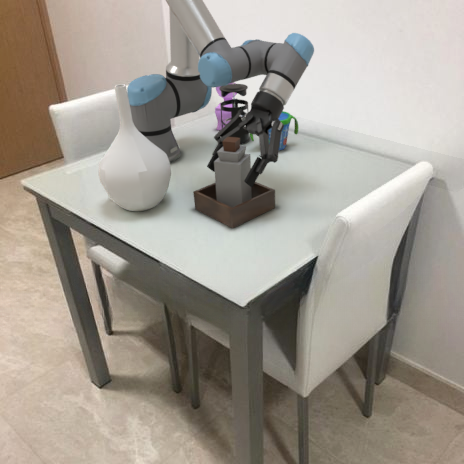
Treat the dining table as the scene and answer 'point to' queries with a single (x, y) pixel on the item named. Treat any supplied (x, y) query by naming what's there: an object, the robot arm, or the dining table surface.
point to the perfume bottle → (232, 173)
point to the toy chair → (224, 113)
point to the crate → (239, 214)
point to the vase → (133, 164)
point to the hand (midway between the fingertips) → (228, 176)
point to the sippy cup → (285, 120)
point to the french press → (234, 105)
